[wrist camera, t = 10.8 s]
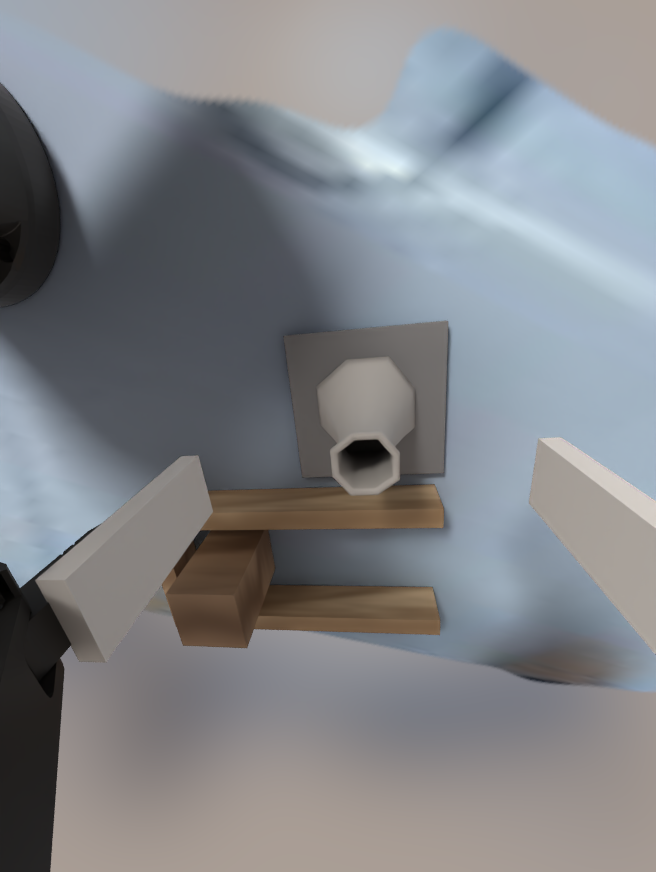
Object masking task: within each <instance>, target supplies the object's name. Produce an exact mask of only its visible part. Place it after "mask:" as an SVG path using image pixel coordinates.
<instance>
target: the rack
mask: <svg viewBox="0 0 656 872" xmlns="http://www.w3.org/2000/svg"><path fill="white" fill-rule="evenodd" d="M208 494H209V498H210V502H211V505H212V509H213V513H212V514H211V515H210V517H209V518H208V520H207V521H206V522H205V524H204V525H203V527H202V528H201V530H286V529H379V528H443V523H444V508H443V505H442V502H441V500H440V497H439V495H438V492H437V490H436V487H435V484H430V485H394V486H390V487H389V488H387V489H386V490H385V491H383V492H382V493H380V494H379V495H358V496H350V495H349V494H348V493H347V491H346V490H345V489H344V488H343V487H323V488H287V489H251V490H215V491H208ZM195 552H196V548H195V544H194V541H192V542H191V544H190V545H189V546H188V548H187V549H186V551H185V552H184V553H183V555H182V556H181V558H180V559H179V561H178V562H177V563H176V565H175V566H174V568H173V569H172V570H171V572H170V573H169V575H168V576H167V577H166V579H165V580H164V582H163V583H162V586H163V589H164V592H165V595H166V593H167V591H168V590H169V588H170V587H171V586H172V584H173V583H174V581H175V580H176V579H177V577H178V576H179V574H180V573H181V572H182V570H183V569H184V567H185V566H186V565H187V563H188V562H189V560H190V559H191V558H192V556H193V555H194V553H195ZM166 598H167V597H166ZM167 601H168V600H167ZM168 604H169V603H168ZM169 607H170V606H169ZM170 610H171V609H170ZM171 613H172V612H171ZM172 616H173V615H172ZM173 619H174V618H173ZM174 622H175V620H174ZM175 624H176V623H175ZM176 627H177V626H176ZM254 629H269V630H301V631H333V632H364V633H396V634H428V635H440V617H439V613H438V609H437V605H436V600H435V596H434V592H433V588H432V587H386V586H307V585H269V588H268V590H267V593H266V596H265V599H264V602H263V605H262V607H261V610H260V613H259V616H258V619H257V621H256V624H255V627H254Z"/></svg>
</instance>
